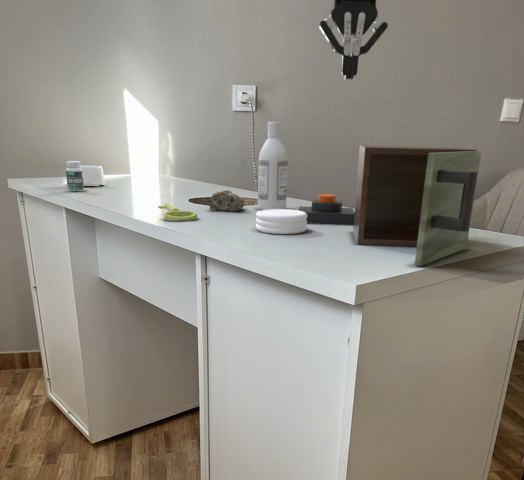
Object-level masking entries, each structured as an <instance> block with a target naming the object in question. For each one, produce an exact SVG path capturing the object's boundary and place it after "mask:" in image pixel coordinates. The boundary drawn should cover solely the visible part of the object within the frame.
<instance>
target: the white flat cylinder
mask: <svg viewBox="0 0 524 480" xmlns="http://www.w3.org/2000/svg"><path fill="white" fill-rule="evenodd" d="M255 216H256V219H255V222H256V225H255V228H256V230H257V231H259V232H261V233H266V234H274V235H295V234H300V233H304V232H306V230H307V229H308V227H307V224H308V223H307V220H306V218H307V214H306V213H305V212H303V211H299V209H288V208H287V209H267V210H258V211H257V212H256V214H255Z"/></svg>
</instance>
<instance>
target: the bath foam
mask: <svg viewBox="0 0 524 480" xmlns="http://www.w3.org/2000/svg"><path fill="white" fill-rule="evenodd" d="M258 155H259V156H258V180H257V181H258V183H257V185H258V187H257V194H258V195H257V208H258V210H259V211H261V210H267V209H286V208H287V190H288V167H289V166H288V165H289V164H288V163H289V161H288V159H289V157H288V152H287V149H286V148H285V145H284V143H283V142H282V140H281V122H280V121H267V138H266V140H265V141H264V143H263V145H262V147H261V149H260V151H259V154H258Z"/></svg>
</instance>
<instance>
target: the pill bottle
mask: <svg viewBox="0 0 524 480" xmlns="http://www.w3.org/2000/svg"><path fill="white" fill-rule="evenodd" d="M65 163H66V169H65V176H66V186H67V191H68V192H71V191H81V192H84V191H85V187H84V183H83V171H82V169H81V168H80V167H81V166H82V164H81V161H77V160H67V161H66V162H65Z"/></svg>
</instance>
